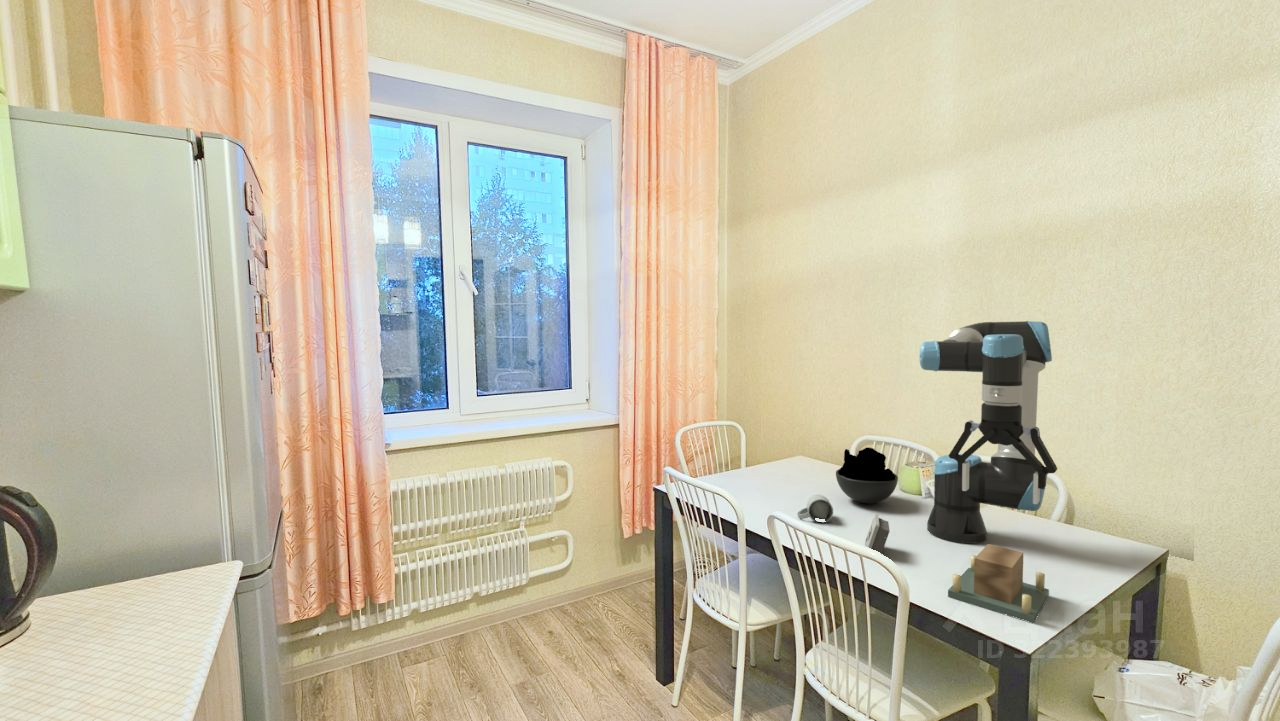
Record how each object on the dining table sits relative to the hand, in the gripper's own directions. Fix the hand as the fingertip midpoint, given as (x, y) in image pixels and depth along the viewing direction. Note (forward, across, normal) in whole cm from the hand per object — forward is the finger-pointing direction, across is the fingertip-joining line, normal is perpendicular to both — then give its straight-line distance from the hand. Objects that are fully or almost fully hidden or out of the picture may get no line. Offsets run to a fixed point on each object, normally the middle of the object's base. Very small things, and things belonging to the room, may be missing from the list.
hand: (999, 495), depth 121 cm
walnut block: (+21, 0, -2) cm, 21 cm away
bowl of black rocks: (+24, -48, +42) cm, 68 cm away
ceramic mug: (+23, -53, +16) cm, 60 cm away
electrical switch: (+23, -29, +4) cm, 38 cm away
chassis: (+23, 0, -2) cm, 23 cm away
